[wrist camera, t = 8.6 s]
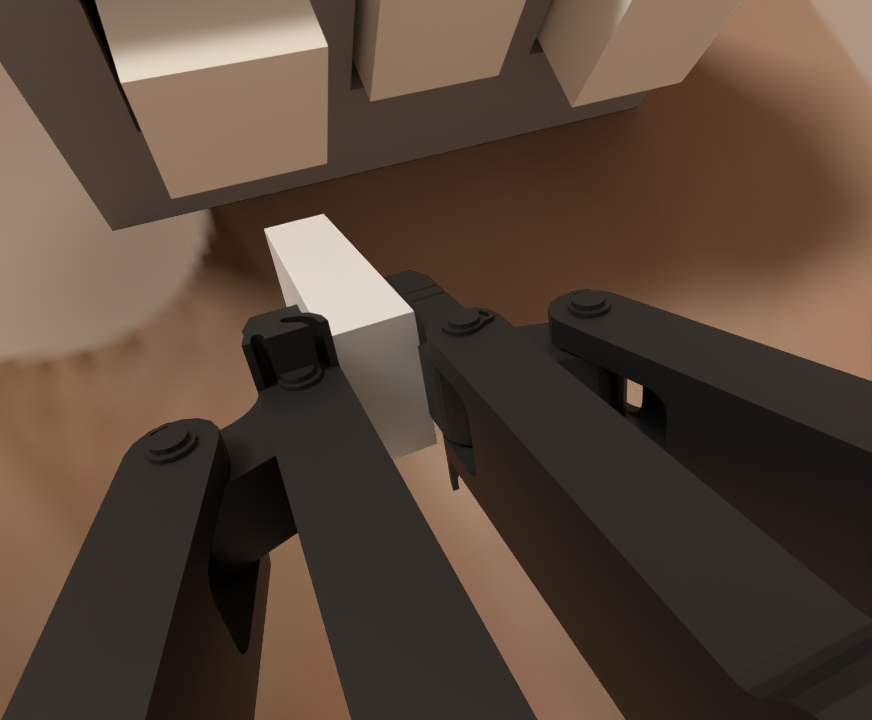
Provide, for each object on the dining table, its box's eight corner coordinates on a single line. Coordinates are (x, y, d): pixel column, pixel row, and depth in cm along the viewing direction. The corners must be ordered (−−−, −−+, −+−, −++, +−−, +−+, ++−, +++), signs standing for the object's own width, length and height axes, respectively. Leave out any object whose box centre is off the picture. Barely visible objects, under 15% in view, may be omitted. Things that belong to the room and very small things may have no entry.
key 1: (139, 97, 20) (80, -44, 16) (291, 69, 22) (281, -69, 17) (171, 199, 20) (120, 83, 15) (327, 163, 21) (328, 46, 16)
